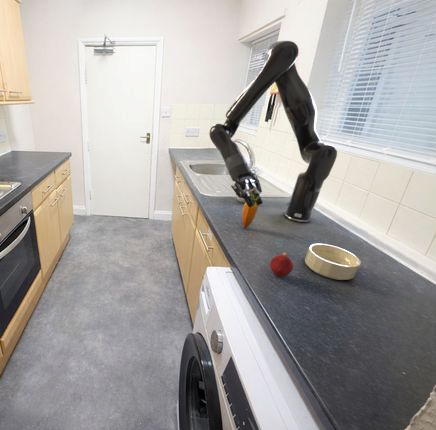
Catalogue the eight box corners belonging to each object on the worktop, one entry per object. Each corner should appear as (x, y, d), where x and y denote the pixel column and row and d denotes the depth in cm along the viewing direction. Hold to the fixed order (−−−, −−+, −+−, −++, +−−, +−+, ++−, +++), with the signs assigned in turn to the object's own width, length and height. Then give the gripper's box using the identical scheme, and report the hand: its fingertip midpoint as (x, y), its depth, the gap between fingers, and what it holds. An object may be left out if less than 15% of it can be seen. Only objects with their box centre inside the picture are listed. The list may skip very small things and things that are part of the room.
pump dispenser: (236, 196, 142) (242, 169, 136) (257, 201, 137) (265, 172, 130) (231, 202, 135) (238, 173, 128) (253, 207, 129) (261, 177, 123)
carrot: (253, 228, 109) (263, 194, 103) (249, 232, 106) (259, 197, 99) (240, 224, 112) (249, 191, 106) (236, 228, 109) (245, 193, 102)
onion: (291, 283, 78) (300, 260, 74) (270, 280, 79) (278, 257, 75) (284, 271, 83) (292, 249, 79) (264, 268, 84) (271, 247, 80)
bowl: (297, 255, 91) (302, 241, 89) (339, 260, 89) (346, 246, 87) (314, 277, 80) (320, 262, 78) (362, 285, 78) (370, 269, 75)
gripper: (231, 163, 101) (251, 204, 96) (256, 160, 107) (276, 198, 102) (218, 173, 107) (236, 211, 103) (242, 170, 113) (260, 206, 109)
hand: (255, 205), depth 103 cm, fingers closed on carrot, 4 cm apart
